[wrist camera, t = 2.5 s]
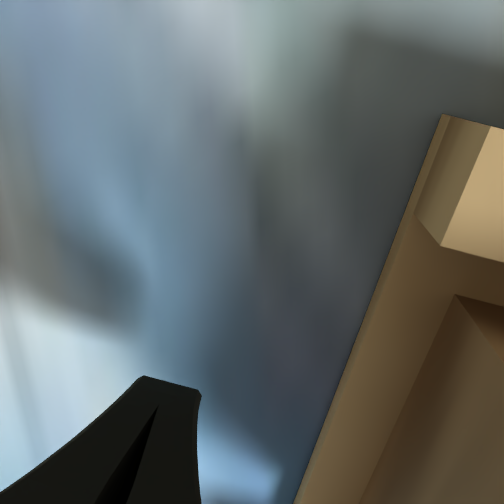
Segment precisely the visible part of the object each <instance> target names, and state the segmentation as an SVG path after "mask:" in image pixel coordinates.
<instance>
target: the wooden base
mask: <svg viewBox="0 0 504 504" xmlns="http://www.w3.org/2000/svg"><path fill="white" fill-rule="evenodd" d="M454 294H457V295H461V296H464V297H468V298H472V299H476V300H480V301H483V302H487V303H491V304H495V305H499V306H502V307H504V129H500V128H496V127H492V126H488V125H484V124H480V123H476V122H473V121H469V120H465V119H461V118H457V117H453V116H449V115H445V114H442V115H441V118H440V121H439V123H438V126H437V128H436V131H435V134H434V136H433V139H432V141H431V144H430V147H429V149H428V152H427V155H426V157H425V160H424V162H423V165H422V168H421V170H420V173H419V176H418V178H417V181H416V183H415V186H414V189H413V191H412V194H411V196H410V199H409V202H408V204H407V207H406V210H405V212H404V215H403V217H402V220H401V223H400V225H399V228H398V231H397V233H396V236H395V238H394V241H393V244H392V246H391V249H390V251H389V254H388V257H387V259H386V262H385V265H384V267H383V270H382V272H381V275H380V278H379V280H378V283H377V286H376V288H375V291H374V293H373V296H372V299H371V301H370V304H369V306H368V309H367V312H366V314H365V317H364V320H363V322H362V325H361V327H360V330H359V333H358V335H357V338H356V341H355V343H354V346H353V348H352V351H351V354H350V356H349V359H348V361H347V364H346V367H345V369H344V372H343V375H342V377H341V380H340V382H339V385H338V388H337V390H336V393H335V396H334V398H333V401H332V403H331V406H330V409H329V411H328V414H327V416H326V419H325V422H324V424H323V427H322V430H321V432H320V435H319V437H318V440H317V443H316V445H315V448H314V451H313V453H312V456H311V458H310V461H309V464H308V466H307V469H306V471H305V474H304V477H303V479H302V482H301V485H300V487H299V490H298V492H297V495H296V498H295V500H294V503H293V504H359V502H360V500H361V498H362V496H363V493H364V491H365V489H366V487H367V485H368V482H369V480H370V478H371V476H372V474H373V471H374V469H375V467H376V465H377V463H378V461H379V458H380V456H381V454H382V452H383V450H384V447H385V445H386V443H387V441H388V439H389V436H390V434H391V432H392V430H393V428H394V426H395V423H396V421H397V419H398V417H399V415H400V412H401V410H402V408H403V406H404V404H405V401H406V399H407V397H408V395H409V393H410V391H411V388H412V386H413V384H414V382H415V380H416V377H417V375H418V373H419V371H420V369H421V366H422V364H423V362H424V360H425V358H426V356H427V353H428V351H429V349H430V347H431V345H432V342H433V340H434V338H435V336H436V334H437V331H438V329H439V327H440V325H441V323H442V321H443V318H444V316H445V314H446V312H447V310H448V307H449V305H450V303H451V301H452V299H453V296H454Z"/></svg>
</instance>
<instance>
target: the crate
mask: <svg viewBox="0 0 504 504" xmlns="http://www.w3.org/2000/svg"><path fill="white" fill-rule="evenodd" d="M359 504H504V307H502V306H499V305H495V304H491V303H487V302H483V301H480V300H476V299H472V298H468V297H464V296H461V295H457V294H454V296H453V299H452V301H451V303H450V305H449V307H448V310H447V312H446V314H445V316H444V318H443V321H442V323H441V325H440V327H439V329H438V331H437V334H436V336H435V338H434V340H433V342H432V345H431V347H430V349H429V351H428V353H427V356H426V358H425V360H424V362H423V364H422V366H421V369H420V371H419V373H418V375H417V377H416V380H415V382H414V384H413V386H412V388H411V391H410V393H409V395H408V397H407V399H406V401H405V404H404V406H403V408H402V410H401V412H400V415H399V417H398V419H397V421H396V423H395V426H394V428H393V430H392V432H391V434H390V436H389V439H388V441H387V443H386V445H385V447H384V450H383V452H382V454H381V456H380V458H379V461H378V463H377V465H376V467H375V469H374V471H373V474H372V476H371V478H370V480H369V482H368V485H367V487H366V489H365V491H364V493H363V496H362V498H361V500H360V502H359Z"/></svg>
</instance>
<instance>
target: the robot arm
mask: <svg viewBox="0 0 504 504" xmlns="http://www.w3.org/2000/svg"><path fill="white" fill-rule="evenodd" d="M201 397H202V395H201V394H200V392H199V391H198V390H196V389H193V388H189V387H185V386H181V385H178V384H174V383H170V382H166V381H163V380H159V379H155V378H151V377H148V376H142V377H140V378H138V379H137V380H136V381H135V382H134V383H133V384H132V385H131V386H130V387H129V388H128V389H127V390H126V391H125V392H124V393H123V394H122V395H121V396H120V397H119V398H118V399H117V400H116V401H115V402H114V403H113V404H112V405H111V406H110V407H108V408H107V409H106V410H105V411H104V412H103V413H102V414H101V415H100V416H99V417H97V418H96V419H95V420H94V421H93V422H92V423H90V424H89V425H88V426H87V427H86V428H84V429H83V430H82V431H81V432H80V433H79V434H77V435H76V436H75V437H74V438H73V439H71V440H70V441H69V442H68V443H67V444H65V445H64V446H63V447H61V448H60V449H59V450H57V451H56V452H55V453H54V454H52V455H51V456H50V457H48V458H47V459H46V460H44V461H43V462H42V463H40V464H39V465H38V466H37V467H35V468H34V469H33V470H31V471H30V472H28V473H27V474H26V475H24V476H23V477H21V478H20V479H19V480H17V481H16V482H14V483H13V484H11V485H10V486H9V487H7V488H6V489H4V490H3V491H1V492H0V504H201V497H200V487H199V475H198V459H197V421H198V410H199V405H200V401H201Z"/></svg>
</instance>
